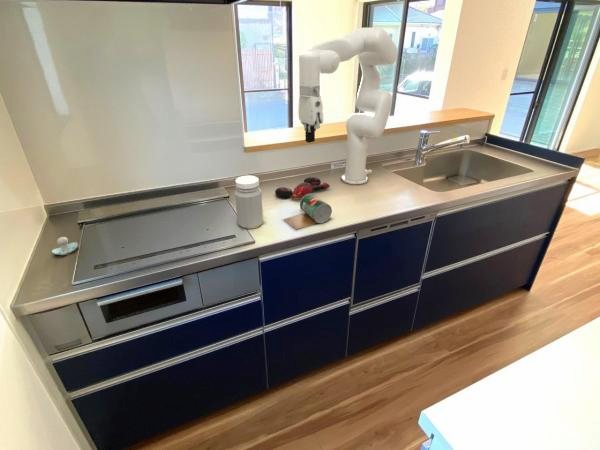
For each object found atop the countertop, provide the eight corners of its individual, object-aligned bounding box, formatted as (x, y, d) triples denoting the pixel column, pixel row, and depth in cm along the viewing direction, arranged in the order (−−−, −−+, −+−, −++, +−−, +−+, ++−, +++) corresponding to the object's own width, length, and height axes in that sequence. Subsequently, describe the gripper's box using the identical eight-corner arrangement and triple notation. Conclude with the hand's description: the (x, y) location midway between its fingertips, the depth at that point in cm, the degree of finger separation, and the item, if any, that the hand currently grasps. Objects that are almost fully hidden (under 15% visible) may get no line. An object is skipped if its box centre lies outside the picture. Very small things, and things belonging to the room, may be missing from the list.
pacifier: (51, 253, 114) (56, 260, 110) (43, 237, 111) (49, 243, 107) (75, 244, 119) (81, 250, 115) (68, 228, 116) (75, 234, 112)
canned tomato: (312, 189, 136) (328, 199, 127) (318, 204, 141) (334, 215, 132) (296, 200, 134) (311, 211, 126) (303, 215, 139) (318, 227, 131)
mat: (317, 209, 141) (317, 209, 141) (330, 218, 134) (330, 218, 134) (283, 220, 133) (283, 219, 133) (296, 229, 127) (296, 229, 127)
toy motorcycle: (272, 198, 153) (295, 205, 142) (270, 187, 151) (294, 193, 140) (312, 185, 168) (336, 190, 157) (311, 174, 166) (336, 178, 155)
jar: (234, 220, 133) (230, 176, 124) (258, 215, 137) (255, 172, 128) (241, 232, 125) (237, 186, 117) (267, 226, 129) (264, 182, 120)
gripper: (331, 92, 119) (329, 144, 128) (306, 87, 129) (307, 135, 139) (313, 95, 115) (313, 148, 125) (289, 89, 126) (291, 138, 135)
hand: (310, 141), depth 132 cm, fingers closed
